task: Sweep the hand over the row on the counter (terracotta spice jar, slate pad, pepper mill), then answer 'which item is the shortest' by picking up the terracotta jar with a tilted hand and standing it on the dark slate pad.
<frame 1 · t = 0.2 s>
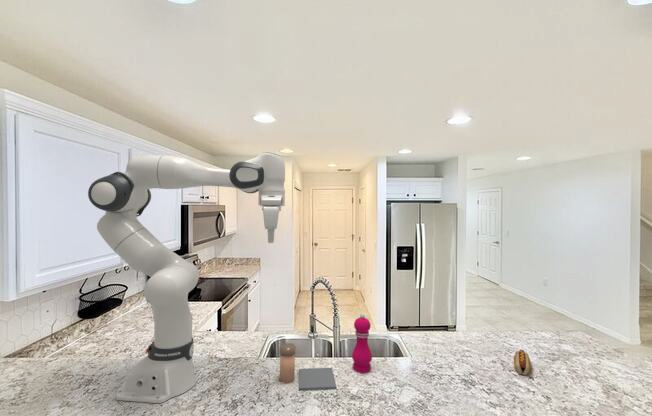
hand: (271, 241, 102), 47 cm above the countertop, tool pointing down, fingers open, 8 cm apart
pad: (316, 379, 102), on the countertop
food: (522, 369, 112), on the countertop
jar: (287, 379, 102), on the countertop
pepper mill: (361, 369, 110), on the countertop
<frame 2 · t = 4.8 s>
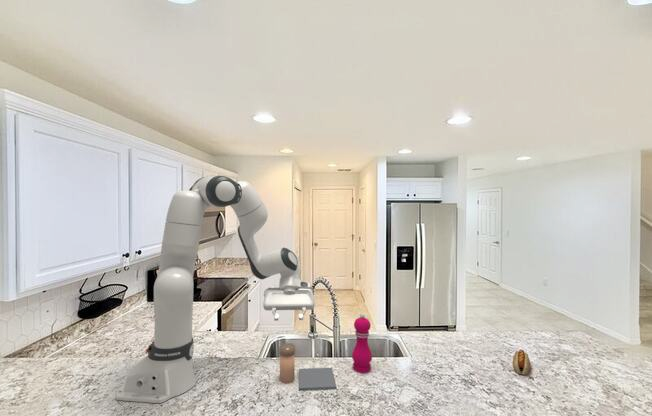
hand: (288, 319, 115), 16 cm above the countertop, tool tilted 45°, fingers open, 8 cm apart
nothing on the countertop moved.
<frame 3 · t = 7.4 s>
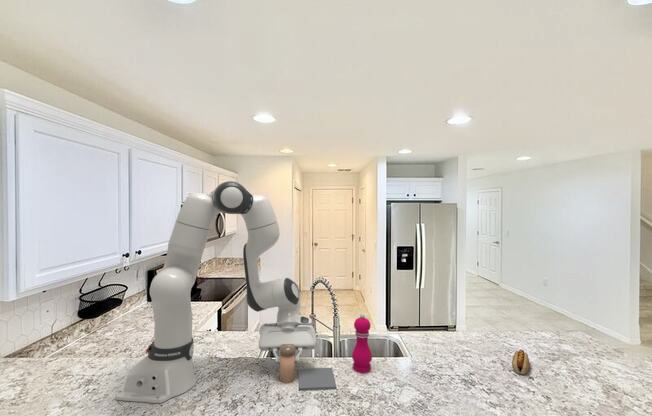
hand: (287, 362, 102), 6 cm above the countertop, tool tilted 45°, fingers closed on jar, 5 cm apart
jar: (287, 379, 102), on the countertop, touching gripper
everything else where it was.
when the fingers open (7 cm above the countertop, at t = 12.4 s): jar stays where it is, resting on pad.
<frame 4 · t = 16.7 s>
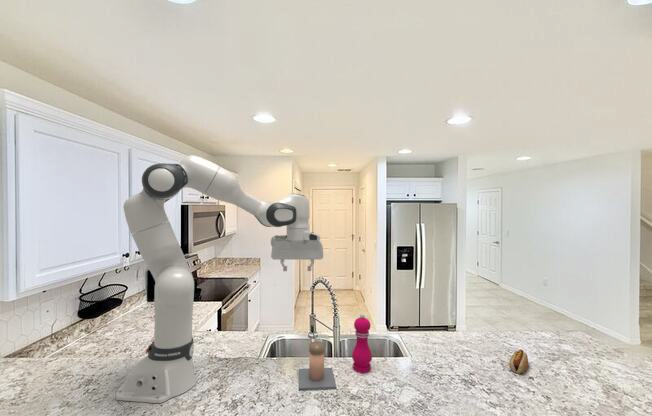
hand: (297, 270, 117), 34 cm above the countertop, tool pointing down, fingers open, 8 cm apart
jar: (316, 377, 102), point 1 cm above the countertop, touching pad
at the end: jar inside the target area on the pad (0.1 cm from its centre), point 0.8 cm above the pad's base; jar tilted 1°; the gripper is holding nothing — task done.
